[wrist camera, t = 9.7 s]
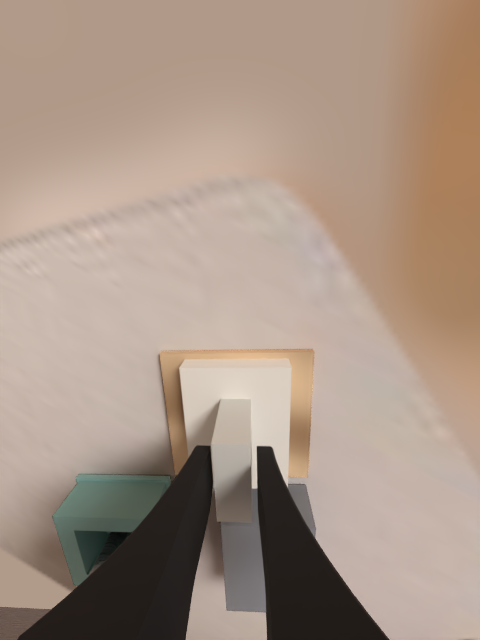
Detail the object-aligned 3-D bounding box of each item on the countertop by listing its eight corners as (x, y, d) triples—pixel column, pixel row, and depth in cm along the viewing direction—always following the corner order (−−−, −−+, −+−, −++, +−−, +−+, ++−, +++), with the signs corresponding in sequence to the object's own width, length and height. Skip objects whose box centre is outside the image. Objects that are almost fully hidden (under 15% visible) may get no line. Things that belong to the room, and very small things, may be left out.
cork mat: (306, 471, 15) (308, 477, 15) (177, 469, 16) (174, 475, 15) (312, 349, 13) (314, 352, 13) (162, 350, 13) (159, 353, 13)
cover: (285, 473, 15) (297, 552, 11) (195, 471, 15) (175, 548, 11) (288, 358, 13) (304, 405, 9) (184, 359, 13) (156, 405, 9)
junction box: (301, 563, 17) (309, 614, 15) (230, 561, 17) (226, 610, 15) (305, 484, 15) (315, 528, 13) (225, 483, 16) (220, 525, 13)
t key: (185, 503, 16) (143, 662, 10) (188, 528, 16) (151, 693, 10) (65, 500, 16) (-47, 650, 10) (73, 525, 17) (-29, 681, 11)
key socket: (179, 544, 17) (167, 591, 15) (96, 541, 18) (71, 587, 15) (169, 475, 16) (155, 516, 13) (78, 474, 16) (47, 513, 14)
